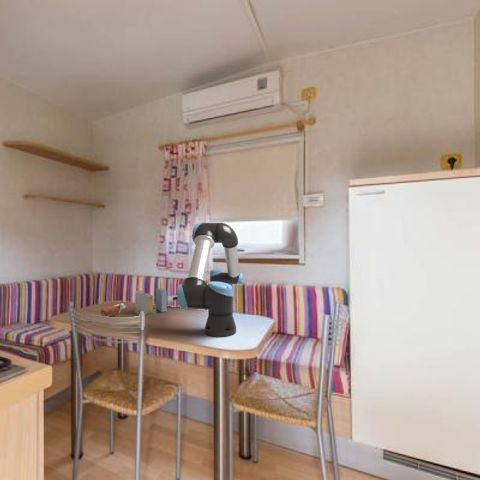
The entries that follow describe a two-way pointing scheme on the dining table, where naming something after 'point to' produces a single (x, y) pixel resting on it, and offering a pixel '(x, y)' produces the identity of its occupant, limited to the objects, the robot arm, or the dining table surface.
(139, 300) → the vise
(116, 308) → the bull figurine
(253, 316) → the dining table surface
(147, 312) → the block
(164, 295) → the free jaw
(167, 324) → the dining table surface
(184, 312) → the dining table surface
